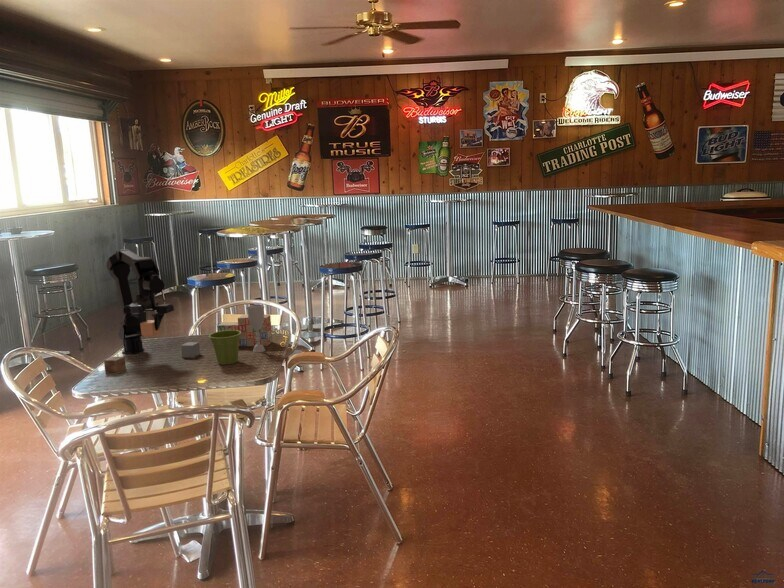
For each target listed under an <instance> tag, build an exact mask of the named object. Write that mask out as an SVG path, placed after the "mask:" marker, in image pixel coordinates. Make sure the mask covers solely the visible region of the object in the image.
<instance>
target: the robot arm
mask: <svg viewBox="0 0 784 588" xmlns="http://www.w3.org/2000/svg"><path fill="white" fill-rule="evenodd" d="M106 269H107V271H108V273H109V275H110V277H111V278H113V280H114V281H115V284H116V289H117V293H118V297H119V303H120V307H121V311H122V317H121V320H120V327H119V330H118V333H117V335H118V338H119V339H120V340H122V342H123V343H122V344H123V349H124V350H123V351H122V352H121V354H137V353H140V352H142V351H144V350H146V349H145V348H144V347H143V340H142V337H143V336H142V334H141V326H140V323H142V322H145V321H147V312H154V313H152V314H151V316H152V317H153V320H154V323H155V329H156V331H157V330H158V329H159V326H160V327H161V324H162V320H163V318H164V316H165V314H169V313H171V312H173V311H175V308H174V307H175V306H174V305H173V304H172V303H162V304H159V302H157V301H156V296H157V295H158V294H159V293H161V292H163V290H164V289H165V283H164V281H163V280H162V279H161V278H160V277H159V276H160V270H159V269H158V266H157V265H156V263H155V261H154V259H152V258H151V257H148V256H139V254H138V255H137V254H136V253H135V252H132V251H131V249H128V248H125V249H118V250H116V251H115V253H113V254H112V255H111V256H109V258H108V259H107V261H106ZM131 271H132V272H133V274H134V275H135V280H136V284H137V291H138V293H137V294H136V295H135V300H133V296H132V291H131V287H130V282H129V276H130V274H131Z"/></svg>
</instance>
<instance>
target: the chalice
mask: <svg viewBox="0 0 784 588" xmlns="http://www.w3.org/2000/svg"><path fill="white" fill-rule="evenodd" d="M264 308H265V305H258V304H257V305H250V306H246V307H245V309H246V310H247V315H248V319H249V322H250V324H251V326H252V327H253V329H255V330H256V336H257V338H256V340H257V345H255V346H253V349H252V353H263V352H265V351H266V349H265V346H263V345H262V344H260V342H259V341H260V338H259V335H260V334H259V329H261V327H262V324H263V321H264V315H265V312H264V311H265V310H264Z"/></svg>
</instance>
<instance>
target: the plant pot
mask: <svg viewBox="0 0 784 588" xmlns="http://www.w3.org/2000/svg"><path fill="white" fill-rule="evenodd" d="M240 334H241V331H238V330H225V331H219V332H218V331H215V332H212V333H210V334H209V335H208V337H209V338H210V341H211V343H212V345H213V350H214V354H215V356H216V357H215V358H216V359H217V363H218V364H219V365H221V366H225V365H234V364H236V363H237V362H238V360H239V347H240V346H239V340H240Z"/></svg>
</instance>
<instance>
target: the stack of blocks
mask: <svg viewBox="0 0 784 588" xmlns="http://www.w3.org/2000/svg"><path fill="white" fill-rule="evenodd" d="M271 319H272V318H271V314H264V321H263V324H262V327H261V329H259V334H260V335H259V338H260V341H259V342H260V344H262V345H263V347H267V346H270V345H271V344H272V343H273V336H272V335H273V333H272V321H271ZM216 327H217V332H219V331H225V330H238V331H241V334H240V340H239V347H254V346H255V345H257V340H256V338H257V336H256V330H255V329H253V327H252V326H251V324H250V322H249V319H248V314H241V315H240V316H239V317H237V321H229V322H228V321H223V322H222V321H221V322H220V323H219V324H217V325H216Z"/></svg>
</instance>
